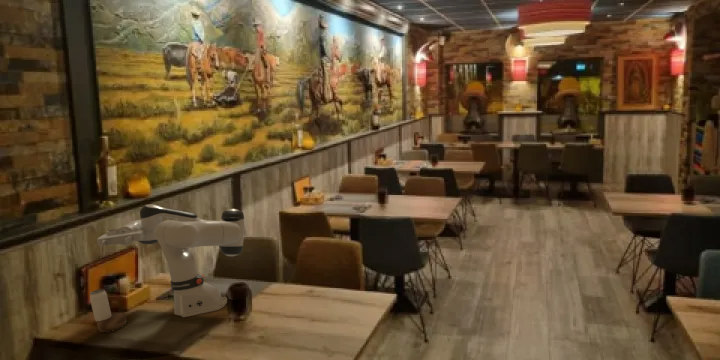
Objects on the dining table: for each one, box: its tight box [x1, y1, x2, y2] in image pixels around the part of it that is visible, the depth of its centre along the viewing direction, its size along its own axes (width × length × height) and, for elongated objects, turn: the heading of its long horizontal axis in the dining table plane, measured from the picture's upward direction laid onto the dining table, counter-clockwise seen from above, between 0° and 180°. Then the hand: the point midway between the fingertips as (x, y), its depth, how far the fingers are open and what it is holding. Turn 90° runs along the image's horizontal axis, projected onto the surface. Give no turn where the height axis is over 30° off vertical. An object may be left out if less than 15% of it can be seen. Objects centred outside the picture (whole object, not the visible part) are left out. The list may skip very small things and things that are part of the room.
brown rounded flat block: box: [96, 312, 127, 333], centre depth 239 cm, size 11×11×4 cm
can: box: [89, 288, 112, 323], centre depth 238 cm, size 6×6×12 cm
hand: (113, 242), depth 251 cm, fingers open, 8 cm apart
